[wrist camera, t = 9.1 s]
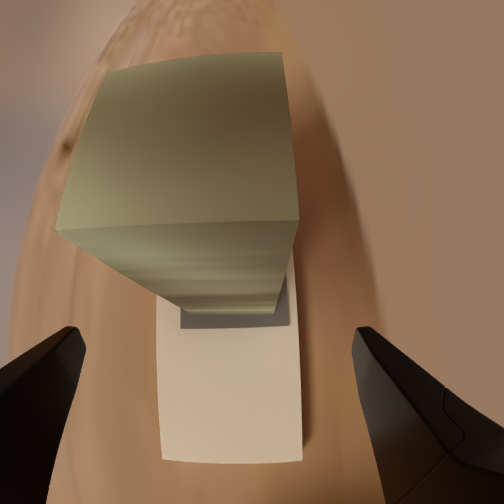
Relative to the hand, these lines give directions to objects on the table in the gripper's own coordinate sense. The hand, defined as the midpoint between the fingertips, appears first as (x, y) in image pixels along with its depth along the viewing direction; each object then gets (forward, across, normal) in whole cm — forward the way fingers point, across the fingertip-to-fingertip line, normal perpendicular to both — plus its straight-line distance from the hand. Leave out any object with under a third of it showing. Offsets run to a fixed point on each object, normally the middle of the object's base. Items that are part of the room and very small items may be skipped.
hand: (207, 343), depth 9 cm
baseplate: (+7, 0, +6) cm, 9 cm away
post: (+8, 0, +2) cm, 9 cm away
